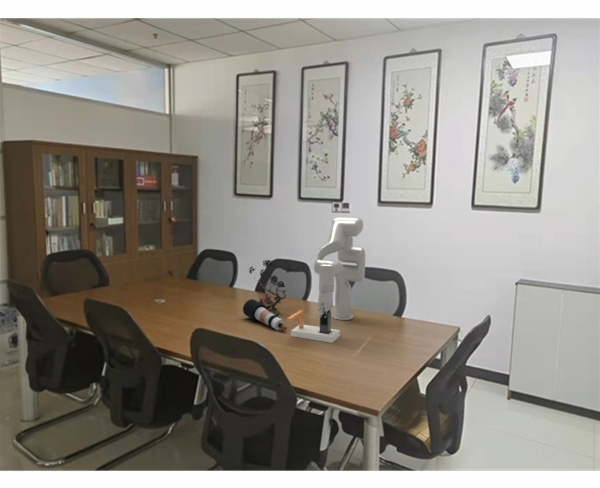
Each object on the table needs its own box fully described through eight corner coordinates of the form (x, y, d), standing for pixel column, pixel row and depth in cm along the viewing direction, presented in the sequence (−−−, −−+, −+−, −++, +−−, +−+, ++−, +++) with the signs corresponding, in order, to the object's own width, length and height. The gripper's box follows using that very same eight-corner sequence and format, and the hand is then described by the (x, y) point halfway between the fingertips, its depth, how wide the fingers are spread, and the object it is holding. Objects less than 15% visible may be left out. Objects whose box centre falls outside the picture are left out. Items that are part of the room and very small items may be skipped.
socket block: (300, 331, 247) (300, 324, 247) (339, 337, 239) (340, 330, 238) (290, 338, 236) (291, 330, 236) (332, 344, 228) (332, 336, 227)
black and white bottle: (281, 341, 244) (275, 326, 239) (246, 319, 270) (240, 305, 265) (295, 330, 249) (290, 315, 244) (259, 309, 274) (254, 295, 270)
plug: (322, 330, 239) (323, 311, 237) (330, 331, 237) (331, 312, 235) (319, 333, 234) (320, 313, 233) (327, 334, 233) (328, 315, 231)
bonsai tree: (300, 312, 285) (301, 260, 281) (273, 320, 266) (274, 265, 262) (258, 301, 307) (259, 254, 302) (231, 308, 288) (231, 258, 284)
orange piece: (300, 326, 242) (300, 309, 240) (304, 327, 241) (304, 310, 240) (286, 336, 226) (286, 318, 225) (290, 336, 225) (290, 318, 224)
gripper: (325, 283, 241) (324, 318, 244) (313, 290, 226) (312, 327, 229) (338, 285, 239) (337, 319, 241) (327, 292, 223) (326, 329, 226)
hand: (325, 323), depth 235 cm, fingers closed on plug, 4 cm apart
